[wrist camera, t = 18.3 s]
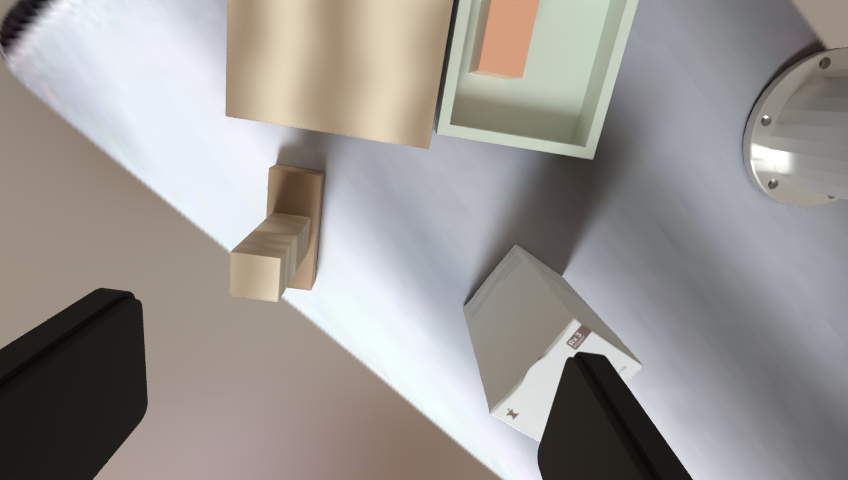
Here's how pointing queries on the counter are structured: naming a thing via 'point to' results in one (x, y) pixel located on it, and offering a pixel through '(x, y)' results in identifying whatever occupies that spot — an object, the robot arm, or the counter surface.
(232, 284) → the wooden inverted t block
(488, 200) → the counter surface
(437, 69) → the birch block
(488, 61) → the salmon pink brick
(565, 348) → the skincare box
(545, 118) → the box
